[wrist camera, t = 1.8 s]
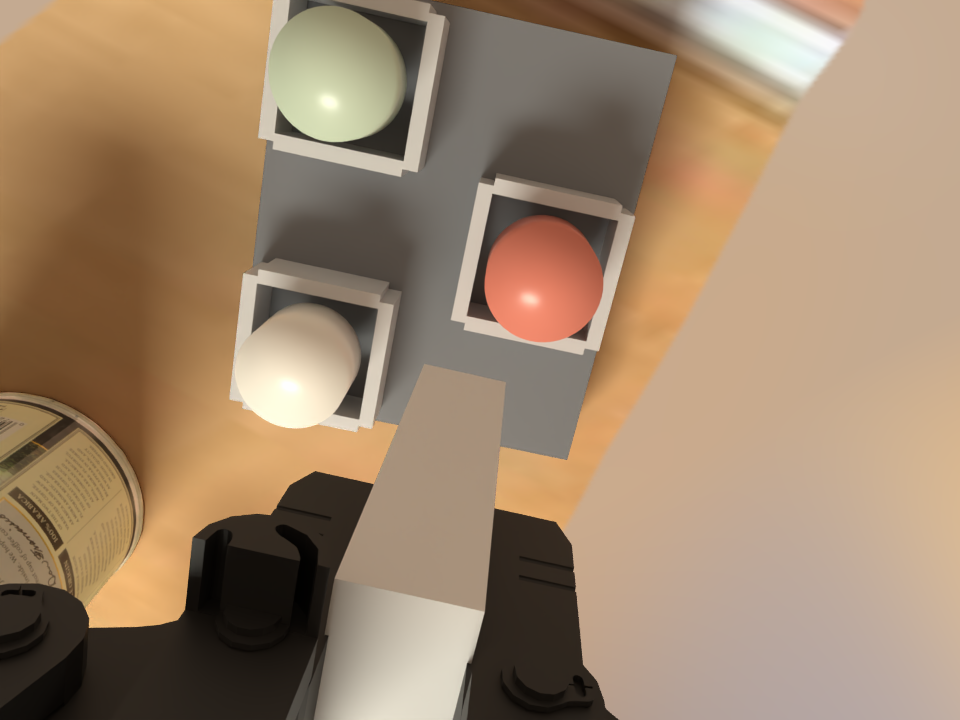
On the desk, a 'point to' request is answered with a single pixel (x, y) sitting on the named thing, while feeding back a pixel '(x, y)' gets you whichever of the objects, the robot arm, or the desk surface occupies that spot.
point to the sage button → (336, 74)
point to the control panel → (456, 206)
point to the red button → (543, 279)
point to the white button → (298, 365)
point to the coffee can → (63, 498)
